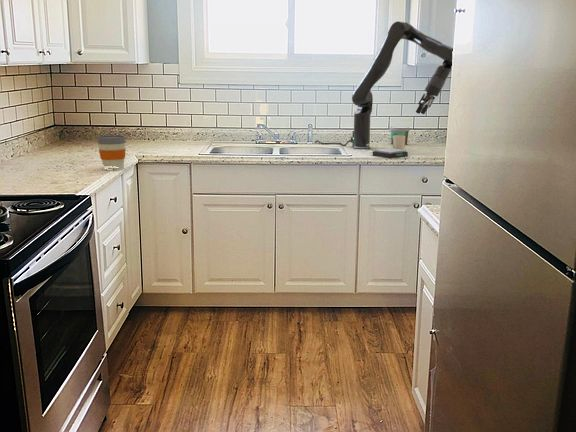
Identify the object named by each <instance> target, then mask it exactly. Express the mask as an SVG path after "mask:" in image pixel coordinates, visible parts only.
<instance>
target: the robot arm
mask: <svg viewBox="0 0 576 432" xmlns="http://www.w3.org/2000/svg"><path fill="white" fill-rule="evenodd" d="M401 40H407V41H410V42H412V43H414V44H415V45H417V46H419V47H420V48H421V49H423V50H424V51H426V52H427V53H429V54H431V55H433V56H436V57H438V58H440V59H441V60H443V61H442V63H441V64H438V66H437V67H436V69H435V71H434V73H433V74H432V76H431V77H430V80H429V81H428V83H427V85H426V86H425V88H424V91H425V92H426V93H423V94H422V96H421V98H420V100H419V101H418V106H417V109H416V110H415V113H416V114H417V115H419V114H422V115H425V114H426V113H427V110H428V109H429V108H431V106H432V105H433V102H434V101H435V99H436V97H439V95H440V94H441V91H442V90H443V87H444V86H445V85H446V81H447V80H448V78H449V75H450V74H451V72H452V71H451V66H452V51H453V48H454V47H451V46H449V45H446V44H444V43H443V42H442V41H440V40H438V39H436V38H434V37H431V36H429V35H427V34H426V33H424V32H421V31H420V30H418V29H417V28H415V27H414V26H413V25H412V24H410V23H408V22H407V21H404V20H396V21H394V22H393V23H391V25H390V27H389V29H388V31H387V34H386V36H385V38H384V41H383V43H381V46H380V48H379V49H378V51H377V52H376V54H375V56H374V57H373V60H372V62H371V63H370V65H369V67H368V69H367V70H366V72H365V74H364V76H363V77H362V79H361V80H360V82H359V84H358V85H357V87H356V88H355V89H354V91H353V92H352V95H351V102H352V104H353V105H354V106H357V109H356V111H355V112H354V113H353V130H352V136H351V137H350V139H349V140H348V141H346V142H345V143H344V144H343V143H341V142H322V141H320V140H319V139H317V140H315V141H314V144H317V143H319V144H322V145H340V146H342V147H346V146H347V145H348V144H349V143H350V144H351V146H352V148H354V149H358V150H359V149H360V150H361V149H365V150H367V149H370V147H371V146H370V145H371V143H370V142H371V116H372V112H373V104H374V103H373V100H374V97H373V96H374V95H373V92H372V91H371V90H372V88H373V87H374V86H375V84H377V83H378V81H380V80H381V79H382V78H383V76H384V75H385V74H386V72H387V71H388V69H389V67H390V66H391V64H392V62H393V61H392V60H393V56H394V55H393V54H394V52H395V49H396V48H397V45H398V44H399V43H400V41H401Z"/></svg>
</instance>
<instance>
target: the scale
mask: <svg viewBox="0 0 576 432" xmlns="http://www.w3.org/2000/svg"><path fill="white" fill-rule="evenodd" d="M371 156H374V157H378V158H379V157H380V158H386V159H396V158H403V157H404V158H405V157H408V156H409V152H408V151H406V149H405V150H400V149H393V147H385V148H378V149H373V151H372V155H371Z"/></svg>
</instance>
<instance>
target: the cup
mask: <svg viewBox="0 0 576 432" xmlns="http://www.w3.org/2000/svg"><path fill="white" fill-rule="evenodd" d="M392 148H393V149H400V150H406V144H405V136H404V135H394V136H393V144H392Z"/></svg>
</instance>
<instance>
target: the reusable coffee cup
mask: <svg viewBox="0 0 576 432" xmlns="http://www.w3.org/2000/svg"><path fill="white" fill-rule="evenodd" d="M126 142H127V141H126V136H125V135H120V134H109V135H100V136H97V144H98V152H99V158H100V160H101V163H102V166H103V165H104V166H112V167H113V166H116V167H119V168H108V169H114V170H113V171H121V170H124V168H125V158H126V151H127V150H126Z"/></svg>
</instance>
